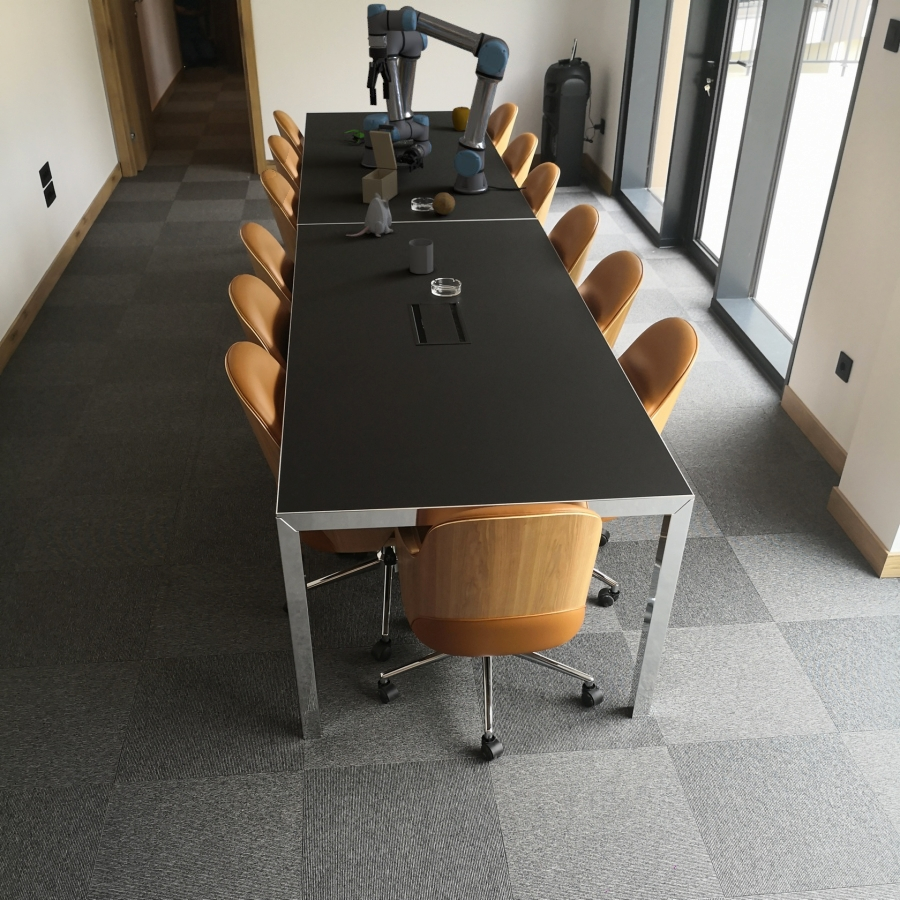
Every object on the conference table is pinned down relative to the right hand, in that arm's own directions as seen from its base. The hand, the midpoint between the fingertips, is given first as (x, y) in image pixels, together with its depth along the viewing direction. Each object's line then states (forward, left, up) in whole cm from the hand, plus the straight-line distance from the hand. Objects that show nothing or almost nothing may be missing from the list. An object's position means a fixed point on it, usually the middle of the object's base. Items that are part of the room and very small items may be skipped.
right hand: (380, 102), depth 363 cm
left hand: (-9, -13, -31) cm, 34 cm away
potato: (-18, +33, -39) cm, 54 cm away
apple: (-72, -110, -39) cm, 137 cm away
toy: (+19, +52, -39) cm, 68 cm away
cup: (+9, +92, -39) cm, 101 cm away
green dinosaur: (-17, -97, -39) cm, 106 cm away
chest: (+2, +3, -39) cm, 40 cm away
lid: (0, 0, -20) cm, 20 cm away
